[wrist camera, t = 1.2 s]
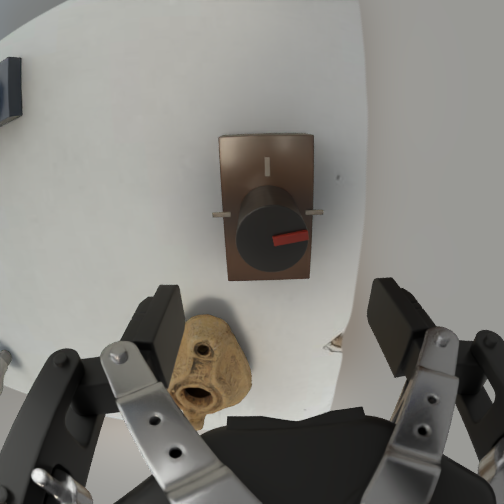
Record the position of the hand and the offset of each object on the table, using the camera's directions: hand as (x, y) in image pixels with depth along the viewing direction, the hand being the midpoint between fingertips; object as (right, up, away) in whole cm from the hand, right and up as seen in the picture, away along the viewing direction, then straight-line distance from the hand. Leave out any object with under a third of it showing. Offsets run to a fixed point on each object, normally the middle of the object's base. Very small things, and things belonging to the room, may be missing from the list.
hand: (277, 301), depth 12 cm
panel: (0, +6, +14) cm, 15 cm away
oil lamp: (-6, -9, +21) cm, 24 cm away
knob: (0, +5, +11) cm, 12 cm away
